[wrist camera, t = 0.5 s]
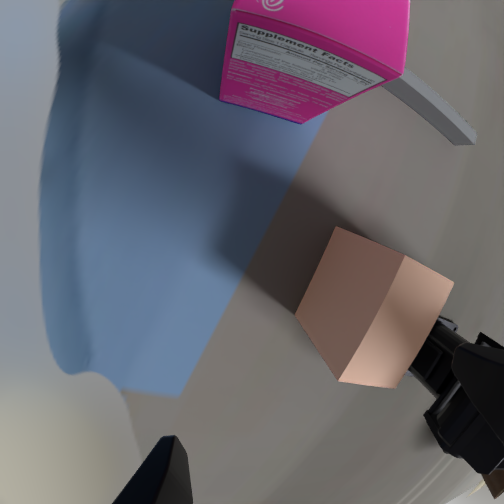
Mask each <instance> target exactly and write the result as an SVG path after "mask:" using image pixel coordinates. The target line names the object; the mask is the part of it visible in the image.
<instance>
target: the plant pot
mask: <svg viewBox="0 0 504 504" xmlns="http://www.w3.org/2000/svg"><path fill="white" fill-rule="evenodd" d="M481 475H482V477H483V479H484V481H485V483H486V485H487V486H488V488H489V490H490V492H491V494H492V496H493V497H494V499H496V498H497V497H498V496H500V495H501V494H502V493H503V492H504V470H493V471H492V472H491V473H490V474H489V475H486V474H481Z"/></svg>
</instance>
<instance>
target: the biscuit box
mask: <svg viewBox="0 0 504 504" xmlns="http://www.w3.org/2000/svg"><path fill="white" fill-rule="evenodd" d="M453 285H454V282H452V281H451V280H449V279H447V278H445V277H444V276H442V275H440V274H438V273H437V272H435V271H433V270H431V269H429V268H428V267H426V266H424V265H422V264H420V263H419V262H417V261H415V260H413V259H411V258H410V257H408V256H406V255H404V254H401V253H399V252H397V251H395V250H392V249H390V248H388V247H385V246H383V245H381V244H378V243H376V242H374V241H371V240H369V239H367V238H364V237H362V236H359V235H357V234H354V233H352V232H350V231H347V230H345V229H342V228H340V227H337V226H336V227H335V229H334V231H333V233H332V236H331V238H330V240H329V242H328V245H327V247H326V249H325V251H324V254H323V256H322V258H321V260H320V262H319V265H318V267H317V269H316V271H315V273H314V275H313V278H312V280H311V282H310V284H309V286H308V288H307V290H306V292H305V294H304V296H303V299H302V301H301V303H300V305H299V307H298V309H297V311H296V313H295V316H296V318H297V319H298V321H299V323H300V324H301V326H302V327H303V329H304V330H305V332H306V333H307V335H308V336H309V338H310V339H311V341H312V342H313V344H314V345H315V347H316V348H317V350H318V352H319V353H320V355H321V356H322V358H323V359H324V361H325V362H326V364H327V365H328V367H329V368H330V370H331V371H332V373H333V374H334V376H335V377H336V379H337V381H341V382H347V383H354V384H361V385H368V386H376V387H384V388H393V389H395V388H396V387H397V385H398V384H399V382H400V381H401V379H402V378H403V376H404V375H405V373H406V371H407V370H408V368H409V367H410V365H411V364H412V362H413V360H414V359H415V357H416V355H417V354H418V352H419V350H420V349H421V347H422V345H423V344H424V342H425V340H426V338H427V336H428V335H429V333H430V331H431V329H432V327H433V325H434V324H435V322H436V320H437V318H438V316H439V314H440V312H441V310H442V308H443V306H444V304H445V302H446V300H447V298H448V296H449V293H450V291H451V289H452V287H453Z"/></svg>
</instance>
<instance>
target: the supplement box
mask: <svg viewBox="0 0 504 504" xmlns="http://www.w3.org/2000/svg"><path fill="white" fill-rule="evenodd" d="M409 15H410V0H235V1H234V3H233V6H232V8H231V15H230V22H229V29H228V35H227V43H226V49H225V56H224V64H223V71H222V79H221V87H220V96H219V100H220V101H221V102H225V103H230V104H233V105H237V106H241V107H245V108H248V109H252V110H255V111H258V112H262V113H265V114H269V115H272V116H275V117H278V118H281V119H285V120H288V121H291V122H294V123H297V124H303V123H304V122H306V121H308V120H310V119H312V118H314V117H316V116H318V115H320V114H322V113H323V112H326V111H328V110H330V109H332V108H334V107H336V106H337V105H340V104H342V103H344V102H346V101H348V100H350V99H352V98H354V97H356V96H358V95H360V94H362V93H365V92H367V91H369V90H371V89H373V88H376V87H378V86H380V85H383V84H385V83H387V82H390V81H392V80H394V79H397V78H399V77H401V76H403V73H404V67H405V60H406V53H407V42H408V32H409Z"/></svg>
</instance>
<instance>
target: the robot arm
mask: <svg viewBox="0 0 504 504" xmlns="http://www.w3.org/2000/svg"><path fill="white" fill-rule="evenodd" d="M457 329H458V325H456V324H455V323H452V322H450V321H447V320H445V319H442V318H440V317H438V318H437V320H436V322H435V324H434V325H433V327H432V329H431V331H430V333H429V335H428V336H427V338H426V340H425V342H424V344H423V345H422V347H421V349H420V350H419V352H418V354H417V355H416V357H415V359H414V360H413V362H412V364H411V365H410V367H409V368H408V370H407V371H406V373H405V375H407V376H414V377H416V378H417V379H418V380H419V381H420V382H421V383H422V384H423V385H424V386H425V387H426V388H427V389H428V390H429V391H430V392H431V393H432V394H433V395H434V396H435V398H436V399H437V400H436V401H435V402H434V403H433V405H432V406H431V407H430V409H429V410H427V411H426V412H425V413H424V417H425V419H426V422H427V424H428V426H429V427H430V429H431V431H432V433H433V434H434V436H435V438H436V440H437V441H438V443H439V445H440V447H441V448H442V449H443V452H444V453H446V454H451V455H452V456H454V457H456V458H463V459H464V460H465V461H466V462H467V463H468V464H469V465H470V466H471V467H472V468H473V469H474V470H475V471H476V472H477V473H480V474H486V475H489V474H490V473H491V472H492V471H493V470H504V347H503V346H501V345H500V344H498V343H497V342H495V341H494V340H492V339H491V338H489V337H488V336H486V335H485V334H483V333H481V332H480V333H479V335H478V338H477V340H476V342H475V344H472V343H470V342H468V341H467V340H465V339H464V338H463V337H461V336H460V335H458V334H457V333H456V331H457ZM112 504H193V497H192V489H191V481H190V473H189V464H188V457H187V453H186V451H185V449H184V447H183V446H182V444H181V442H180V441H179V439H178V437H177V436H175V435H171V436H163V437H161V438H160V440H159V441H158V443H157V444H156V445H155V447H154V448H153V449H152V451H151V452H150V454H149V455H148V456H147V458H146V459H145V460H144V462H143V463H142V464H141V466H140V467H139V468H138V470H137V471H136V473H135V474H134V476H133V477H132V478H131V479H130V481H129V482H128V483H127V485H126V486H125V487H124V489H123V490H122V491H121V493H120V494H119V495H118V496H117V498H116V499H115V500H114V502H113V503H112Z"/></svg>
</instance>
